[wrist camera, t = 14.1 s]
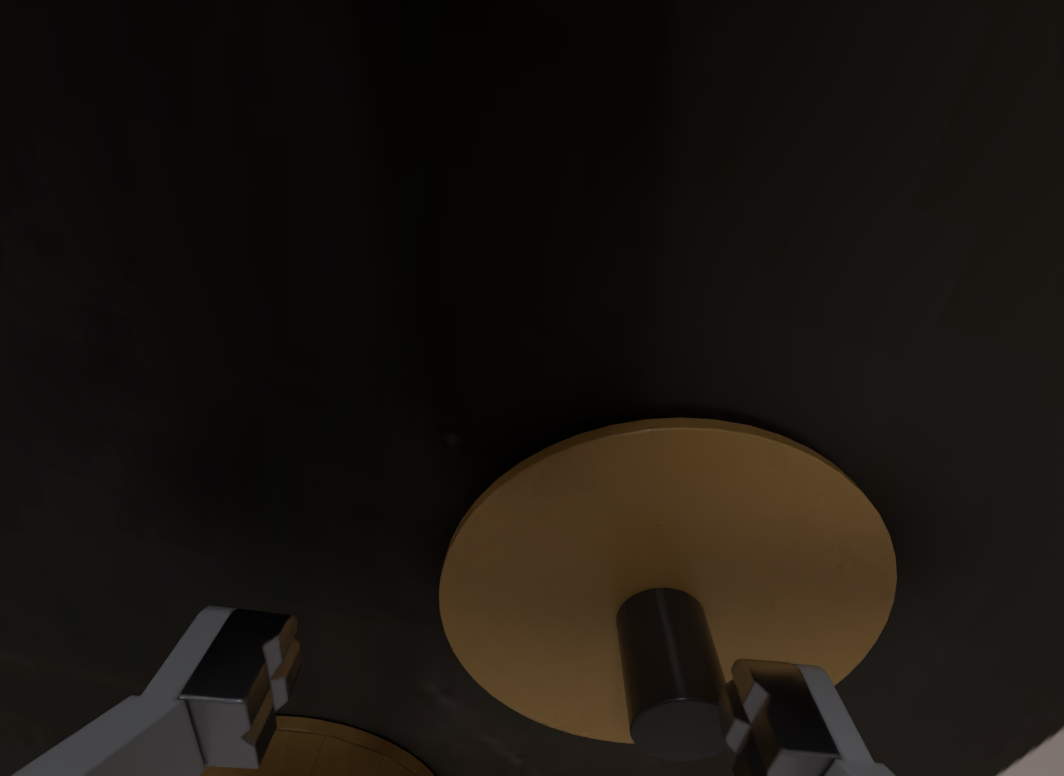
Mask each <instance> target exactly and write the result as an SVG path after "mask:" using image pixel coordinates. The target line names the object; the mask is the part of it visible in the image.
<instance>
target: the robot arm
mask: <svg viewBox="0 0 1064 776" xmlns="http://www.w3.org/2000/svg"><path fill="white" fill-rule="evenodd" d="M298 629H299V626H298V620H297V615H288V614H280V613H271V612H263V611H254V610H246V609H239V608H230V607H220V606H210V605H209V606H207V607H206V608H205V609H204V610H203V611H201V612H200V613H199V614H198V615H197V617H196V618H195V619H194V621H193V622H192V624H191V625H190V627H189V628H188V629H187V631H186V632H185V634H184V635H183V636H182V638H181V639H180V641H179V642H178V644H177V645H176V646H175V648H174V649H173V651H172V652H171V654H170V655H169V656H168V658H167V659H166V661H165V662H164V663H163V665H162V666H161V668H160V669H159V671H158V672H157V673H156V675H155V676H154V678H153V679H152V680H151V682H150V683H149V685H148V686H147V688H146V689H145V690H144V692H143V693H142V695H141V696H134V695H131V696H130V697H128V698H127V699H125V700H124V701H122V702H121V703H119V704H118V705H116V706H115V707H113V708H112V709H110V710H109V711H107V712H106V713H104V714H103V715H101V716H100V717H98V718H97V719H95V720H94V721H92V722H91V723H89V724H88V725H86V726H85V727H83V728H82V729H80V730H79V731H77V732H76V733H74V734H73V735H71V736H70V737H68V738H67V739H65V740H64V741H62V742H61V743H59V744H58V745H56V746H55V747H53V748H52V749H50V750H49V751H47V752H46V753H44V754H43V755H41V756H40V757H38V758H37V759H35V760H34V761H32V762H31V763H29V764H28V765H26V766H25V767H23V768H22V769H20V770H19V771H17V772H16V773H14V774H13V775H11V776H199V775H201V774H202V773H203V772H204V771H205V766H211V767H229V768H248V769H259V766H260V764H261V762H262V760H263V757H264V755H265V753H266V751H267V748H268V746H269V744H270V742H271V739H272V737H273V735H274V733H275V730H276V728H277V723H276V717H275V711H276V710H278V709H279V708H280V707H281V706H282V705H284V704H285V703H286V702H287V701H289V698H290V696H291V694H292V691H293V689H294V687H295V684H296V681H297V677H298V673H299V670H300V666H301V657H302V650H301V644H300V643H299V642H298V641H297V640H296V639H295V638H294V637H295V635H296V633H297V631H298ZM731 673H732V676H733V679H732V680H731V681H729V682H727V683H726V684H724V685H723V687H722V689H721V692H720V694H719V698H718V717H719V723H720V728H721V731H722V735H723V738H724V741H725V742H726V743H727V744H728V745H729V747H730V748H731V749H732V750H733V751H734V752H735V753H736V757H735V760H734V763H733V766H732V769H733V772H734V775H735V776H895V775H894V774H893V773H892V772H891V771H890V770H889V769H888V768H887V767H886V766H885V765H884V764H882V763H875V762H874V761H873V759H872V757H871V755H870V753H869V751H868V750H867V748H866V746H865V744H864V742H863V740H862V738H861V736H860V734H859V733H858V731H857V729H856V727H855V725H854V723H853V721H852V719H851V717H850V716H849V714H848V712H847V710H846V708H845V706H844V704H843V702H842V700H841V699H840V697H839V695H838V693H837V691H836V689H835V687H834V685H833V683H832V682H831V680H830V678H829V676H828V674H827V672H826V671H825V670H824V669H823V668H822V667H820V666H816V665H805V664H791V663H790V662H780V661H768V660H756V659H743V658H740V659H738V660H736V661H735V662H734V664H733V666H732V668H731Z"/></svg>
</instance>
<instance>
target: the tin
mask: <svg viewBox="0 0 1064 776" xmlns="http://www.w3.org/2000/svg"><path fill="white" fill-rule="evenodd" d="M275 717H276V723H277V728H276V730H275V733H274V735H273V737H272V739H271V742H270V744H269V746H268V748H267V751H266V753H265V755H264V757H263V760H262V762H261V764H260V766H259V769H248V768H229V767H211V766H205V771H204V772H203V773H202V774H201V775H199V776H435V775H434V774H433V773H432V772H431V771H430V770H429V769H428V768H427V767H426V766H425V765H424V764H423V763H422V762H420V761H419V760H418V759H416V758H415V757H414V756H412V755H411V754H410V753H408V752H407V751H405V750H403V749H401V748H400V747H398V746H396V745H395V744H393V743H391V742H388V741H386V740H384V739H382V738H380V737H378V736H375V735H373V734H370V733H367V732H365V731H362V730H359V729H356V728H353V727H349V726H346V725H343V724H338V723H334V722H329V721H325V720H319V719H312V718H305V717H295V716H275Z"/></svg>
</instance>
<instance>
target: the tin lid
mask: <svg viewBox="0 0 1064 776" xmlns="http://www.w3.org/2000/svg"><path fill="white" fill-rule="evenodd" d="M896 582H897V571H896V556H895V552H894V549H893V545H892V541H891V538H890V534H889V532H888V530H887V528H886V526H885V524H884V522H883V520H882V518H881V516H880V514H879V512H878V511H877V510H876V508H875V507H874V506H873V505H872V503H871V502H870V501H869V499H868V498H867V497H866V496H865V494H864V493H863V492H862V491H861V489H860V488H859V487H858V486H857V485H856V483H855V482H854V481H853V480H852V479H850V478H849V477H848V476H847V475H846V474H845V473H844V472H843V471H841V470H840V469H839V468H838V467H837V466H836V465H835V464H834V463H832V462H830V461H829V460H827V459H826V458H824V457H823V456H821V455H820V454H818V453H816V452H815V451H813V450H812V449H810V448H808V447H806V446H804V445H802V444H800V443H797V442H795V441H793V440H791V439H789V438H786V437H784V436H782V435H779V434H776V433H773V432H769V431H766V430H763V429H760V428H756V427H753V426H750V425H745V424H739V423H733V422H727V421H722V420H716V419H700V418H682V417H679V418H660V419H644V420H638V421H632V422H626V423H620V424H614V425H609V426H606V427H602V428H599V429H595V430H592V431H588V432H585V433H581V434H578V435H575V436H573V437H570V438H568V439H565V440H563V441H561V442H558V443H556V444H553V445H551V446H548V447H546V448H545V449H543V450H541V451H539V452H538V453H536V454H534V455H532V456H530V457H529V458H527V459H525V460H523V461H521V462H520V463H519V464H517V465H516V466H514V467H513V468H512V469H510V470H509V471H508V472H506V473H505V474H504V475H502V476H501V477H500V478H498V479H497V480H496V481H495V482H494V483H493V484H492V485H491V486H490V487H489V488H488V489H487V490H486V491H485V492H484V493H483V494H482V495H481V496H480V497H479V498H478V499H477V500H476V501H475V502H474V504H473V505H472V506H471V508H470V509H469V510H468V512H467V513H466V514H465V516H464V517H463V518H462V520H461V522H460V523H459V525H458V527H457V529H456V531H455V533H454V535H453V537H452V539H451V541H450V544H449V547H448V550H447V553H446V556H445V559H444V563H443V567H442V571H441V578H440V586H439V606H440V615H441V619H442V623H443V627H444V631H445V634H446V636H447V639H448V641H449V643H450V645H451V648H452V650H453V652H454V653H455V655H456V656H457V658H458V659H459V661H460V663H461V664H462V666H463V667H464V668H465V669H466V671H467V672H468V673H469V674H470V675H471V676H472V677H473V679H474V680H475V681H476V682H477V683H478V684H479V685H480V686H482V687H483V688H484V689H485V690H486V691H487V692H488V693H490V694H491V695H492V696H493V697H495V698H496V699H498V700H499V701H501V702H502V703H503V704H505V705H506V706H508V707H509V708H511V709H513V710H515V711H517V712H518V713H520V714H522V715H524V716H526V717H528V718H530V719H532V720H535V721H537V722H539V723H542V724H544V725H546V726H549V727H552V728H555V729H558V730H561V731H564V732H568V733H571V734H575V735H579V736H584V737H588V738H593V739H598V740H605V741H612V742H621V743H635V745H636V746H637V747H638V748H639V749H640V750H642V751H643V752H645V753H646V754H648V755H650V756H653V757H656V758H659V759H663V760H668V761H694V760H700V759H705V758H708V757H711V756H714V755H716V754H718V753H720V752H722V751H724V750H725V749H727V748H728V747H729V745H728V744H727V743H726V742H725V741H724V738H723V735H722V731H721V728H720V723H719V717H718V698H719V694H720V692H721V689H722V687H723V685H724V684H726V683H727V682H729V681H731V680H732V679H733V676H732V673H731V668H732V666H733V664H734V662H735V661H736V660H738V659H740V658H743V659H756V660H768V661H780V662H790V663H791V664H805V665H816V666H820V667H822V668H823V669H824V670H825V671H826V672H827V674H828V676H829V678H830V680H831V682H832V683H833V685H834V686H835V685H836V684H837V683H838V682H840V681H841V680H842V679H843V678H844V677H846V676H847V675H848V674H849V673H850V672H851V671H852V670H853V669H854V668H855V667H856V666H857V665H858V664H859V663H860V662H861V661H862V659H863V658H864V657H865V656H866V654H867V653H868V652H869V650H870V649H871V648H872V646H873V645H874V644H875V642H876V641H877V639H878V637H879V635H880V633H881V632H882V630H883V628H884V626H885V624H886V622H887V620H888V617H889V614H890V611H891V608H892V605H893V602H894V597H895V590H896Z"/></svg>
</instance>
